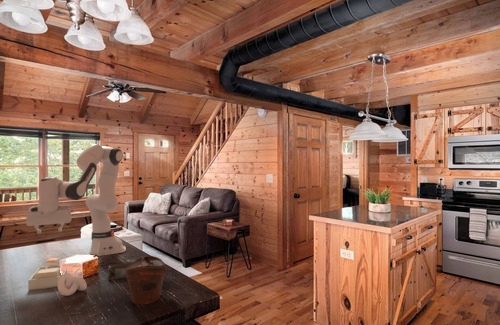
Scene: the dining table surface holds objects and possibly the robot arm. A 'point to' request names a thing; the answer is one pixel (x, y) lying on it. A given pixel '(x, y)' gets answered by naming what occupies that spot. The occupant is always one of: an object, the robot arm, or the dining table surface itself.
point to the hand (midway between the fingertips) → (49, 232)
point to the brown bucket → (145, 279)
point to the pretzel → (71, 283)
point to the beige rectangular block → (48, 273)
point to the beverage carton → (117, 270)
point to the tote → (43, 281)
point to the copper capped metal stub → (52, 263)
